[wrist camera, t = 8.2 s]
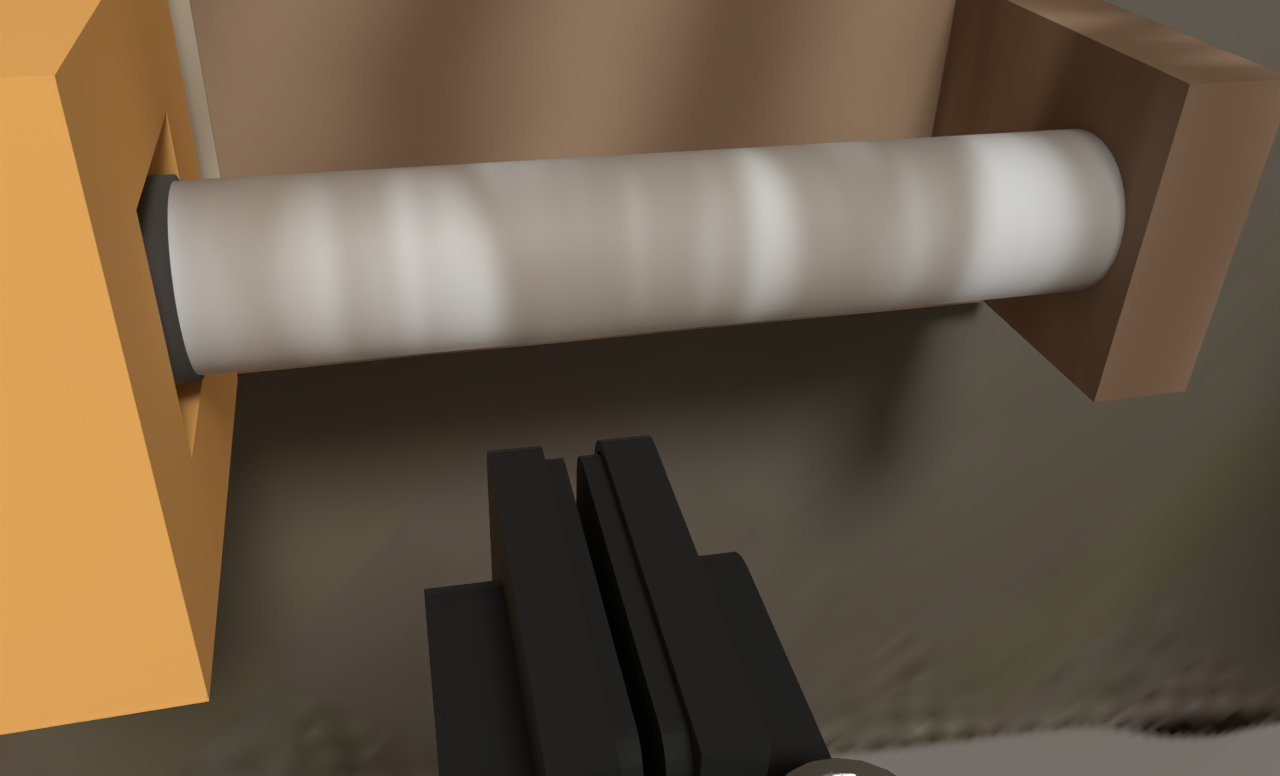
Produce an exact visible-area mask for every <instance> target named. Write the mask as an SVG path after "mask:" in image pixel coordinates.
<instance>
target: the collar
mask: <svg viewBox="0 0 1280 776" xmlns="http://www.w3.org/2000/svg"><path fill="white" fill-rule="evenodd" d="M166 174H175V175H177V177H178V178H179V180H196V179H201V176H200V171H199V166H198V160H197V155H196V149H195V144H194V139H193V133H192V128H191V122H190V117H189V112H188V106H187V101H186V96H185V90H184V85H183V79H182V74H181V69H180V63H179V58H178V52H177V47H176V42H175V36H174V31H173V25H172V20H171V15H170V9H169V4H168V0H0V735H1V734H8V733H14V732H20V731H26V730H33V729H39V728H45V727H51V726H58V725H64V724H70V723H76V722H83V721H89V720H95V719H101V718H108V717H114V716H120V715H126V714H133V713H139V712H145V711H151V710H158V709H164V708H170V707H176V706H182V705H189V704H195V703H201V702H207V701H209V696H210V685H211V674H212V663H213V651H214V640H215V629H216V617H217V606H218V595H219V584H220V572H221V561H222V550H223V538H224V527H225V516H226V505H227V493H228V482H229V471H230V460H231V448H232V437H233V426H234V414H235V403H236V392H237V381H238V376H237V372H228V373H218V374H208V375H205V376H204V378H203V380H202V381H201V382H192V383H181V384H175V382H174V378H173V373H172V369H171V364H170V360H169V355H168V351H167V346H166V342H165V337H164V333H163V328H162V324H161V319H160V315H159V310H158V306H157V301H156V297H155V292H154V288H153V283H152V279H151V274H150V270H149V265H148V261H147V256H146V252H145V247H144V243H143V238H142V234H141V229H140V225H139V220H138V216H137V211H136V209H137V206H138V203H139V200H140V196H141V193H142V190H143V187H144V183H145V180H146V177H147V176H148V175H166Z"/></svg>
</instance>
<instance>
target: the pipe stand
mask: <svg viewBox="0 0 1280 776" xmlns="http://www.w3.org/2000/svg"><path fill="white" fill-rule="evenodd" d="M168 4H169V9H170V15H171V20H172V25H173V31H174V36H175V42H176V47H177V52H178V58H179V63H180V69H181V74H182V79H183V85H184V90H185V96H186V101H187V106H188V112H189V117H190V122H191V128H192V133H193V139H194V144H195V149H196V155H197V160H198V166H199V171H200V176H201V179H196V180H179V178H178V177H177V175H175V174H166V175H148V176H147V177H146V180H145V183H144V187H143V190H142V193H141V196H140V200H139V203H138V206H137V209H136V211H137V216H138V220H139V225H140V229H141V234H142V238H143V243H144V247H145V252H146V256H147V261H148V265H149V270H150V274H151V279H152V283H153V288H154V292H155V297H156V301H157V306H158V310H159V315H160V319H161V324H162V328H163V333H164V337H165V342H166V346H167V351H168V355H169V360H170V364H171V369H172V373H173V378H174V382H175V384H181V383H192V382H201V381H202V380H203V378H204V376H205V375H208V374H218V373H228V372H237V374H240V373H250V372H261V371H271V370H282V369H292V368H302V367H313V366H323V365H333V364H344V363H354V362H364V361H375V360H385V359H396V358H406V357H416V356H427V355H437V354H447V353H458V352H468V351H479V350H489V349H499V348H510V347H520V346H530V345H541V344H551V343H562V342H572V341H582V340H593V339H603V338H613V337H624V336H634V335H645V334H655V333H665V332H676V331H686V330H696V329H707V328H717V327H727V326H738V325H748V324H759V323H769V322H779V321H790V320H800V319H810V318H821V317H831V316H842V315H852V314H862V313H873V312H883V311H893V310H904V309H914V308H925V307H935V306H945V305H956V304H966V303H976V302H985V303H986V304H987V305H988V306H989V307H990V308H992V309H993V310H994V311H995V312H996V313H997V314H998V315H999V316H1000V317H1001V318H1002V319H1004V320H1005V321H1006V322H1007V323H1008V324H1009V325H1010V326H1011V327H1012V328H1013V329H1015V330H1016V331H1017V332H1018V333H1019V334H1020V335H1021V336H1022V337H1023V338H1024V339H1025V340H1027V341H1028V342H1029V343H1030V344H1031V345H1032V346H1033V347H1034V348H1035V349H1036V350H1037V351H1039V352H1040V353H1041V354H1042V355H1043V356H1044V357H1045V358H1046V359H1047V360H1048V361H1049V362H1051V363H1052V364H1053V365H1054V366H1055V367H1056V368H1057V369H1058V370H1059V371H1060V372H1061V373H1063V374H1064V375H1065V376H1066V377H1067V378H1068V379H1069V380H1070V381H1071V382H1072V383H1074V384H1075V385H1076V386H1077V387H1078V388H1079V389H1080V390H1081V391H1082V392H1083V393H1084V394H1086V395H1087V396H1088V397H1089V398H1090V399H1091V400H1092V401H1093V402H1101V401H1109V400H1117V399H1125V398H1133V397H1141V396H1149V395H1158V394H1166V393H1174V392H1182V391H1186V388H1187V385H1188V382H1189V380H1190V377H1191V374H1192V371H1193V368H1194V365H1195V363H1196V360H1197V357H1198V354H1199V351H1200V348H1201V346H1202V343H1203V340H1204V337H1205V334H1206V331H1207V328H1208V326H1209V323H1210V320H1211V317H1212V314H1213V311H1214V309H1215V306H1216V303H1217V300H1218V297H1219V294H1220V292H1221V289H1222V286H1223V283H1224V280H1225V277H1226V275H1227V272H1228V269H1229V266H1230V263H1231V260H1232V257H1233V255H1234V252H1235V249H1236V246H1237V243H1238V240H1239V238H1240V235H1241V232H1242V229H1243V226H1244V223H1245V221H1246V218H1247V215H1248V212H1249V209H1250V206H1251V204H1252V201H1253V198H1254V195H1255V192H1256V189H1257V186H1258V184H1259V181H1260V178H1261V175H1262V172H1263V169H1264V167H1265V164H1266V161H1267V158H1268V155H1269V152H1270V150H1271V147H1272V144H1273V141H1274V138H1275V135H1276V133H1277V130H1278V127H1279V124H1280V73H1279V72H1277V71H1274V70H1272V69H1269V68H1267V67H1264V66H1262V65H1259V64H1257V63H1255V62H1252V61H1250V60H1247V59H1245V58H1242V57H1240V56H1237V55H1235V54H1232V53H1230V52H1227V51H1225V50H1222V49H1220V48H1218V47H1215V46H1213V45H1210V44H1208V43H1205V42H1203V41H1200V40H1198V39H1195V38H1193V37H1190V36H1188V35H1185V34H1183V33H1180V32H1178V31H1176V30H1173V29H1171V28H1168V27H1166V26H1163V25H1161V24H1158V23H1156V22H1153V21H1151V20H1148V19H1146V18H1143V17H1141V16H1139V15H1136V14H1134V13H1131V12H1129V11H1126V10H1124V9H1121V8H1119V7H1116V6H1114V5H1111V4H1109V3H1106V2H1104V1H1102V0H168Z"/></svg>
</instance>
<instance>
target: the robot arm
mask: <svg viewBox="0 0 1280 776" xmlns="http://www.w3.org/2000/svg"><path fill="white" fill-rule="evenodd" d="M487 473H488V495H489V517H490V539H491V561H492V581H489V582H481V583H472V584H464V585H456V586H448V587H439V588H431V589H424V594H425V607H426V619H427V631H428V643H429V655H430V667H431V679H432V691H433V703H434V715H435V727H436V739H437V752H438V764H439V776H896V775H894V774H893V773H891V772H890V771H888V770H886V769H883V768H880V767H877V766H875V765H872V764H869V763H867V762H864V761H860V760H850V759H842V758H831V756H830V754H829V751H828V749H827V747H826V745H825V742H824V740H823V738H822V735H821V733H820V731H819V729H818V726H817V724H816V722H815V720H814V717H813V715H812V713H811V710H810V708H809V706H808V704H807V701H806V699H805V697H804V695H803V692H802V690H801V688H800V685H799V683H798V681H797V679H796V676H795V674H794V672H793V670H792V667H791V665H790V663H789V660H788V658H787V656H786V654H785V651H784V649H783V647H782V645H781V642H780V640H779V638H778V636H777V633H776V631H775V629H774V626H773V624H772V622H771V620H770V617H769V615H768V613H767V611H766V608H765V606H764V604H763V601H762V599H761V597H760V595H759V592H758V590H757V588H756V586H755V583H754V581H753V579H752V576H751V574H750V572H749V570H748V567H747V566H746V564H745V562H744V560H743V558H742V557H741V556H740V555H739V554H738V553H737V552H729V553H721V554H713V555H705V556H698V554H697V551H696V549H695V546H694V543H693V541H692V538H691V536H690V533H689V531H688V528H687V526H686V523H685V520H684V518H683V515H682V513H681V510H680V508H679V505H678V503H677V500H676V497H675V495H674V492H673V490H672V487H671V485H670V482H669V480H668V477H667V474H666V472H665V469H664V467H663V464H662V462H661V459H660V457H659V454H658V451H657V449H656V446H655V444H654V442H653V440H652V438H651V437H650V436H638V437H628V438H618V439H607V440H598V441H597V442H596V446H595V455H587V456H579V457H578V460H577V497H576V502H575V498H574V495H573V491H572V487H571V484H570V480H569V476H568V473H567V469H566V465H565V462H564V459H563V458H557V459H547V460H545V457H544V453H543V450H542V448H541V446H535V447H525V448H515V449H504V450H494V451H488V452H487Z"/></svg>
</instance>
